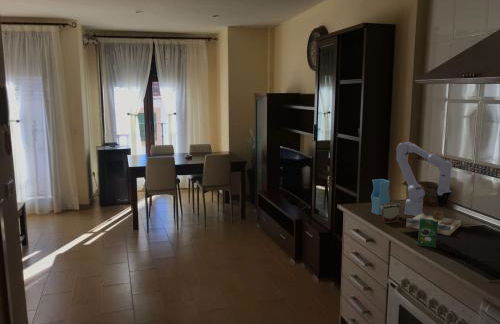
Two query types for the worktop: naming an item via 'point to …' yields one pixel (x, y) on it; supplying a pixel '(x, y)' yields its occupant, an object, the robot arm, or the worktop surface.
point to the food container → (390, 212)
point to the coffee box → (427, 232)
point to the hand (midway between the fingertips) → (442, 205)
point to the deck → (444, 224)
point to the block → (438, 215)
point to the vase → (379, 195)
